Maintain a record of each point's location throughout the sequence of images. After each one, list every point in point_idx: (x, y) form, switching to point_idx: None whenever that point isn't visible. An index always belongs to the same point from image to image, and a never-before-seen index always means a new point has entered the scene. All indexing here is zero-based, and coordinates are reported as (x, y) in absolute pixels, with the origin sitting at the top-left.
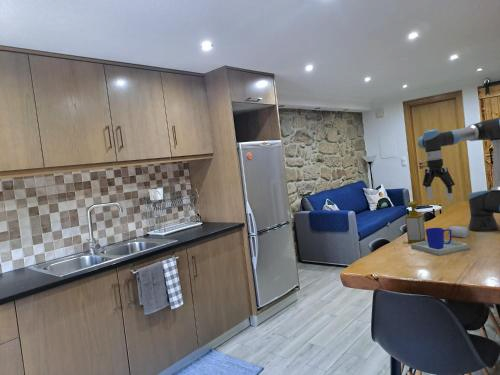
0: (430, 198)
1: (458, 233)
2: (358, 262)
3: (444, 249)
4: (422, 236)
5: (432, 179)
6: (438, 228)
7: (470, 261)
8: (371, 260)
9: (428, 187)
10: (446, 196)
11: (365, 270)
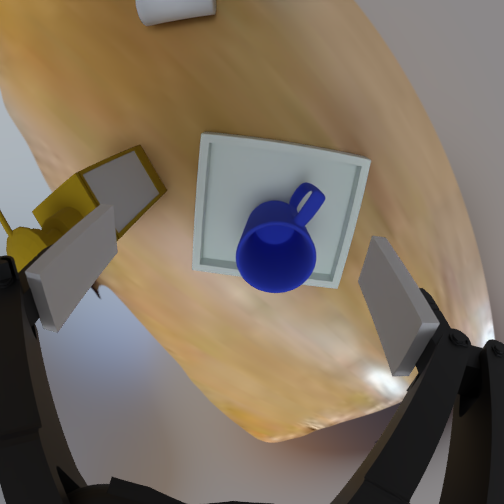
0: (114, 237)
1: (197, 16)
2: (220, 408)
3: (344, 262)
4: (144, 177)
5: (38, 394)
6: (270, 225)
7: (432, 272)
8: (227, 390)
9: (56, 317)
10: (366, 301)
11: (282, 424)
